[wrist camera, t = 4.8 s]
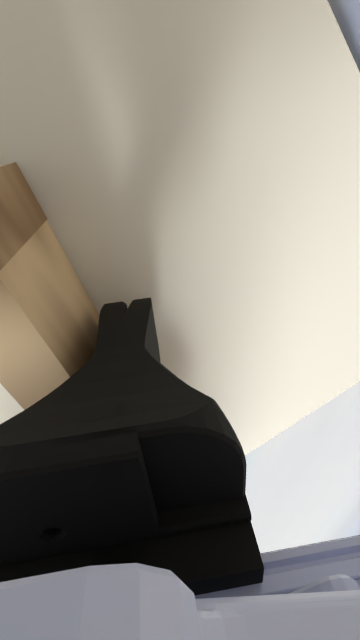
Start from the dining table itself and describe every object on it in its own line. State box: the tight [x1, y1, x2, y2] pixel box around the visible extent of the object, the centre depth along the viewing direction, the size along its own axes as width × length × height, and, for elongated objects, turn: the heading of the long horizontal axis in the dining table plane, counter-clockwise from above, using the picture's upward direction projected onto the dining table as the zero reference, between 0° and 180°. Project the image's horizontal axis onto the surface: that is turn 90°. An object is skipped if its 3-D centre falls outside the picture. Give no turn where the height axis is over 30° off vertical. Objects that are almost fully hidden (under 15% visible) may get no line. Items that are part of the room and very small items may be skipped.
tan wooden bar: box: [0, 162, 99, 410], centre depth 10 cm, size 11×2×4 cm, turn 18°
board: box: [0, 0, 360, 455], centre depth 12 cm, size 18×22×1 cm
